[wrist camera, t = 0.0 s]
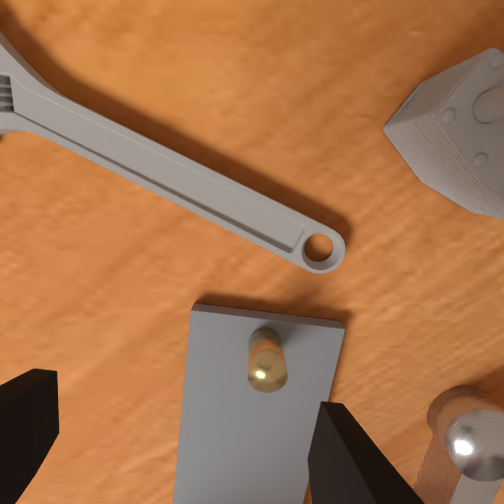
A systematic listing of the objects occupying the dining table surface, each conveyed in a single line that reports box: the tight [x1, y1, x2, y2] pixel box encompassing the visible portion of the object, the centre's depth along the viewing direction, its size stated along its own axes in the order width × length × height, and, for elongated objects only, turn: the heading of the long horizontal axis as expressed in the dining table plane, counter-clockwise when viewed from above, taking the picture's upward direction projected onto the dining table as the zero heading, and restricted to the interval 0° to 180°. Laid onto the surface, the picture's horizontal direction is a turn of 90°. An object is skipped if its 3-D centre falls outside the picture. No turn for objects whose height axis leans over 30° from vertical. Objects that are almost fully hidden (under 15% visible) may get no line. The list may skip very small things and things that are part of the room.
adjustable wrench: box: [0, 31, 345, 274], centre depth 16 cm, size 25×6×2 cm, turn 59°
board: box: [173, 303, 345, 504], centre depth 21 cm, size 19×9×1 cm, turn 172°
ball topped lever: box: [413, 386, 504, 504], centre depth 20 cm, size 12×4×3 cm, turn 172°
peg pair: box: [248, 327, 288, 393], centre depth 19 cm, size 18×2×3 cm, turn 172°
